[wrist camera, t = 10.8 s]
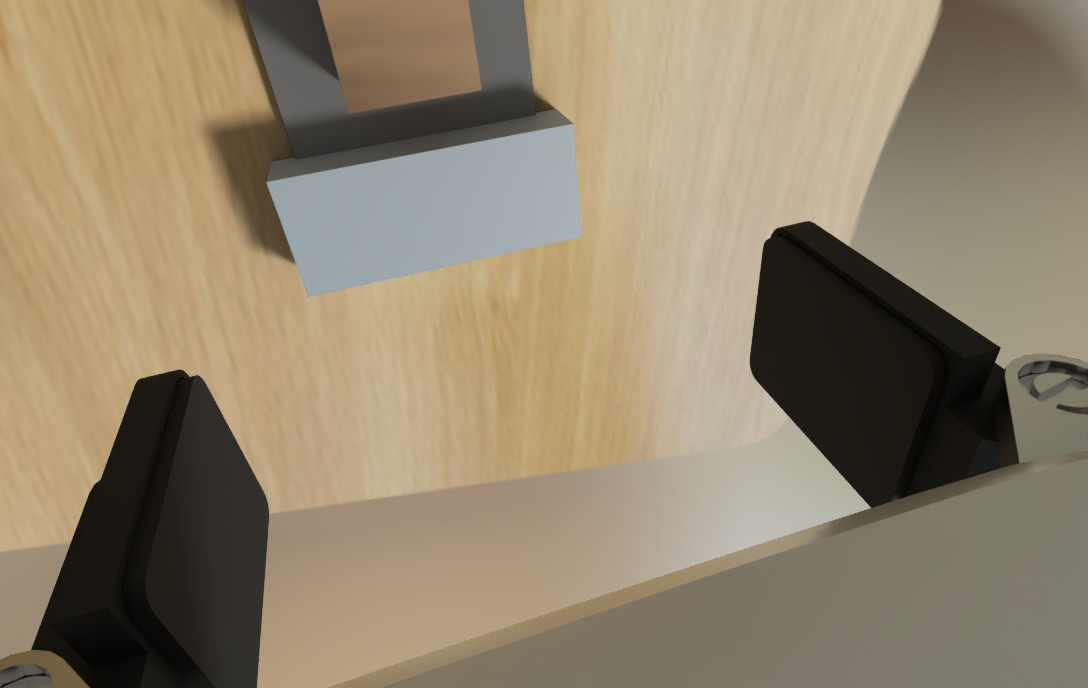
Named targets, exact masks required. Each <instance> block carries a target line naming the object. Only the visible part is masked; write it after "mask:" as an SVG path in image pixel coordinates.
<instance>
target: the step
mask: <svg viewBox="0 0 1088 688" xmlns="http://www.w3.org/2000/svg"><path fill="white" fill-rule="evenodd" d="M266 183H267V186H268V188H269V191H270V194H271V197H272V199H273V202H274V205H275V208H276V210H277V213H278V216H279V218H280V221H281V224H282V227H283V229H284V232H285V235H286V238H287V240H288V243H289V246H290V248H291V251H292V254H293V257H294V259H295V262H296V265H297V268H298V270H299V273H300V276H301V279H302V281H303V284H304V287H305V289H306V292H307V295H308V297H311V296H315V295H320V294H325V293H329V292H334V291H338V290H343V289H347V288H352V287H356V286H361V285H365V284H370V283H375V282H379V281H384V280H388V279H393V278H397V277H402V276H406V275H411V274H415V273H420V272H424V271H429V270H434V269H438V268H443V267H447V266H452V265H456V264H461V263H465V262H470V261H474V260H479V259H484V258H488V257H493V256H497V255H502V254H506V253H511V252H515V251H520V250H524V249H529V248H534V247H538V246H543V245H547V244H552V243H556V242H561V241H565V240H570V239H574V238H579V237H582V230H581V217H580V204H579V191H578V178H577V165H576V152H575V139H574V126H573V123H572V122H571V121H570V120H568V119H567V118H566V117H565V116H564V115H562V114H561V113H560V112H559V111H558V110H557V109H552V110H547V111H541V112H536V115H535V116H529V117H524V118H518V119H513V120H508V121H502V122H497V123H492V124H486V125H481V126H475V127H470V128H465V129H459V130H454V131H449V132H443V133H438V134H432V135H427V136H422V137H416V138H411V139H406V140H400V141H395V142H389V143H384V144H379V145H373V146H368V147H363V148H357V149H352V150H346V151H341V152H336V153H330V154H325V155H320V156H314V157H309V158H303V159H298V160H296V158H295V157H293V158H288V159H282V160H277V161H271V164H270V168H269V173H268V177H267V181H266Z"/></svg>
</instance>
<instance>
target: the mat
mask: <svg viewBox="0 0 1088 688" xmlns="http://www.w3.org/2000/svg"><path fill="white" fill-rule="evenodd" d="M243 1H244V4H245V7H246V10H247V13H248V16H249V19H250V22H251V25H252V28H253V31H254V35H255V38H256V41H257V44H258V47H259V50H260V53H261V56H262V59H263V62H264V65H265V68H266V71H267V74H268V77H269V80H270V83H271V86H272V89H273V92H274V95H275V98H276V101H277V104H278V107H279V110H280V113H281V116H282V119H283V122H284V125H285V128H286V131H287V134H288V137H289V140H290V143H291V146H292V149H293V152H294V155H295V158H296V160H298V159H303V158H309V157H314V156H320V155H325V154H330V153H336V152H341V151H346V150H352V149H357V148H363V147H368V146H373V145H379V144H384V143H389V142H395V141H400V140H406V139H411V138H416V137H422V136H427V135H432V134H438V133H443V132H449V131H454V130H459V129H465V128H470V127H475V126H481V125H486V124H492V123H497V122H502V121H508V120H513V119H518V118H524V117H529V116H535V115H536V111H535V101H534V92H533V83H532V74H531V65H530V55H529V46H528V37H527V28H526V19H525V10H524V0H468V3H469V9H470V16H471V22H472V29H473V35H474V42H475V48H476V55H477V61H478V68H479V74H480V81H481V87H482V90H480V91H474V92H469V93H463V94H458V95H452V96H446V97H441V98H435V99H430V100H424V101H418V102H413V103H407V104H402V105H396V106H390V107H385V108H379V109H374V110H368V111H362V112H357V113H351V114H349V112H348V109H347V105H346V101H345V98H344V94H343V90H342V87H341V83H340V79H339V76H338V72H337V68H336V65H335V61H334V58H333V54H332V50H331V47H330V43H329V39H328V36H327V32H326V28H325V25H324V21H323V17H322V14H321V10H320V6H319V3H318V0H243Z"/></svg>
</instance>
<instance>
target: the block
mask: <svg viewBox="0 0 1088 688" xmlns="http://www.w3.org/2000/svg"><path fill="white" fill-rule="evenodd" d="M318 3H319V6H320V10H321V14H322V17H323V21H324V25H325V28H326V32H327V36H328V39H329V43H330V47H331V50H332V54H333V58H334V61H335V65H336V68H337V72H338V76H339V79H340V83H341V87H342V90H343V94H344V98H345V101H346V105H347V109H348V112H349V114H351V113H357V112H362V111H368V110H374V109H379V108H385V107H390V106H396V105H402V104H407V103H413V102H418V101H424V100H430V99H435V98H441V97H446V96H452V95H458V94H463V93H469V92H474V91H480V90H482V87H481V81H480V74H479V68H478V61H477V55H476V48H475V42H474V35H473V29H472V22H471V16H470V9H469V3H468V0H318Z"/></svg>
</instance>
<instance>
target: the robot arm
mask: <svg viewBox="0 0 1088 688" xmlns="http://www.w3.org/2000/svg"><path fill="white" fill-rule="evenodd" d="M999 351H1000V347H999V346H997V345H996V344H994V343H993V342H991V341H990V340H988V339H987V338H985V337H984V336H982V335H981V334H979V333H978V332H976V331H975V330H973V329H972V328H970V327H969V326H967V325H966V324H964V323H963V322H961V321H960V320H958V319H957V318H955V317H954V316H952V315H951V314H949V313H948V312H946V311H945V310H943V309H942V308H940V307H939V306H937V305H936V304H934V303H933V302H931V301H930V300H928V299H927V298H925V297H924V296H922V295H921V294H919V293H918V292H916V291H915V290H913V289H912V288H910V287H909V286H907V285H906V284H904V283H903V282H901V281H900V280H898V279H897V278H895V277H894V276H892V275H891V274H889V273H888V272H886V271H885V270H883V269H882V268H880V267H879V266H877V265H876V264H874V263H873V262H871V261H870V260H868V259H867V258H865V257H864V256H862V255H861V254H859V253H858V252H856V251H855V250H853V249H852V248H850V247H849V246H847V245H846V244H844V243H843V242H841V241H840V240H838V239H837V238H835V237H834V236H833V235H831V234H830V233H828V232H827V231H825V230H824V229H822V228H821V227H819V226H818V225H816V224H815V223H812V222H810V221H807V222H801V223H797V224H793V225H789V226H784V227H780V228H777V229H776V230H774V232H773V233H772V235H771V238H770V239H768V240H766V242H765V243H764V247H763V253H762V261H761V270H760V278H759V286H758V295H757V303H756V312H755V320H754V328H753V337H752V345H751V353H750V368H751V371H752V374H753V376H754V378H755V379H756V380H757V382H758V383H759V384H760V385H761V386H762V387H763V388H764V389H765V391H766V392H767V393H768V394H769V395H770V396H771V397H772V398H773V399H774V401H775V402H776V403H777V404H778V405H779V406H780V407H781V408H782V409H783V410H784V412H785V413H786V414H787V415H788V416H789V417H790V418H791V419H792V420H793V421H794V423H795V424H796V425H797V426H798V427H799V428H800V429H801V430H802V432H803V433H804V434H805V435H806V436H807V437H808V438H809V439H810V440H811V442H812V443H813V444H814V445H815V446H816V447H817V448H818V449H819V450H820V451H821V453H822V454H823V455H824V456H825V457H826V458H827V459H828V460H829V461H830V463H831V464H832V465H833V466H834V467H835V468H836V469H837V470H838V471H839V473H840V474H841V475H842V476H843V477H844V478H845V479H846V480H847V481H848V483H849V484H850V485H851V486H852V487H853V488H854V489H855V490H856V492H857V493H858V494H859V495H860V496H861V497H862V498H863V499H864V500H865V502H866V503H867V504H868V505H869V506H870V507H871V509H868V510H864V511H861V512H858V513H855V514H852V515H849V516H846V517H842V518H839V519H836V520H833V521H830V522H827V523H824V524H821V525H818V526H815V527H811V528H808V529H805V530H802V531H799V532H796V533H793V534H790V535H787V536H783V537H780V538H777V539H774V540H771V541H768V542H765V543H762V544H759V545H756V546H753V547H750V548H747V549H743V550H741V551H737V552H734V553H731V554H728V555H725V556H722V557H719V558H716V559H713V560H710V561H707V562H704V563H700V564H697V565H694V566H691V567H689V568H686V569H682V570H679V571H676V572H673V573H670V574H667V575H664V576H661V577H658V578H655V579H652V580H649V581H646V582H642V583H640V584H636V585H633V586H631V587H627V588H624V589H621V590H618V591H615V592H612V593H609V594H606V595H603V596H600V597H597V598H594V599H591V600H588V601H585V602H582V603H579V604H576V605H573V606H570V607H567V608H564V609H561V610H557V611H554V612H551V613H549V614H546V615H542V616H539V617H537V618H533V619H530V620H527V621H525V622H521V623H518V624H516V625H512V626H509V627H506V628H504V629H500V630H497V631H494V632H491V633H489V634H486V635H482V636H479V637H476V638H474V639H470V640H468V641H464V642H461V643H459V644H455V645H452V646H449V647H447V648H444V649H440V650H437V651H435V652H432V653H428V654H426V655H423V656H419V657H416V658H413V659H410V660H408V661H404V662H401V663H399V664H395V665H393V666H389V667H386V668H383V669H380V670H378V671H375V672H372V673H369V674H366V675H363V676H360V677H358V678H355V679H352V680H349V681H346V682H343V683H340V684H338V685H335V686H332V687H329V688H1088V363H1087V362H1084V361H1081V360H1079V359H1075V358H1070V357H1066V356H1061V355H1051V354H1033V355H1025V356H1022V357H1019V358H1017V359H1014V360H1013V361H1012V362H1011V363H1010V364H1009V365H1008V366H1007V367H1006V369H1003V368H1002V367H1000V366H999V365H997V364H996V363H995V360H996V358H997V356H998V353H999ZM268 522H269V508H268V503H267V499H266V496H265V494H264V491H263V490H262V488H261V486H260V484H259V482H258V480H257V478H256V477H255V475H254V473H253V471H252V469H251V467H250V465H249V464H248V462H247V460H246V458H245V456H244V454H243V452H242V450H241V449H240V447H239V445H238V443H237V441H236V439H235V437H234V436H233V434H232V432H231V430H230V428H229V426H228V424H227V423H226V421H225V419H224V417H223V415H222V413H221V411H220V409H219V408H218V406H217V404H216V402H215V400H214V398H213V396H212V395H211V393H210V391H209V389H208V387H207V385H206V383H205V382H204V380H203V379H202V378H201V377H200V376H198V375H196V376H192V377H189V376H188V374H187V373H185V372H184V371H183V370H180V369H179V370H175V371H171V372H167V373H163V374H158V375H154V376H150V377H146V378H141V379H139V380H138V381H137V382H136V384H135V386H134V389H133V392H132V395H131V398H130V400H129V403H128V406H127V409H126V411H125V414H124V417H123V420H122V422H121V425H120V428H119V431H118V433H117V436H116V439H115V442H114V445H113V447H112V450H111V453H110V456H109V458H108V461H107V464H106V467H105V469H104V472H103V475H102V478H101V480H100V481H98V482H97V483H96V484H94V486H93V488H92V490H91V491H90V493H89V496H88V499H87V501H86V504H85V507H84V509H83V512H82V515H81V517H80V520H79V523H78V525H77V528H76V531H75V533H74V536H73V539H72V541H71V544H70V547H69V550H68V552H67V555H66V558H65V560H64V563H63V566H62V568H61V571H60V574H59V576H58V579H57V582H56V585H55V587H54V590H53V593H52V595H51V598H50V601H49V604H48V606H47V609H46V611H45V614H44V617H43V620H42V622H41V625H40V627H39V630H38V633H37V636H36V639H35V641H34V644H33V646H32V649H31V650H30V651H26V652H21V653H17V654H12V655H10V656H7V657H5V658H3V659H1V660H0V688H257V677H258V663H259V649H260V635H261V620H262V607H263V593H264V580H265V566H266V552H267V538H268V524H269V523H268Z"/></svg>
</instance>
